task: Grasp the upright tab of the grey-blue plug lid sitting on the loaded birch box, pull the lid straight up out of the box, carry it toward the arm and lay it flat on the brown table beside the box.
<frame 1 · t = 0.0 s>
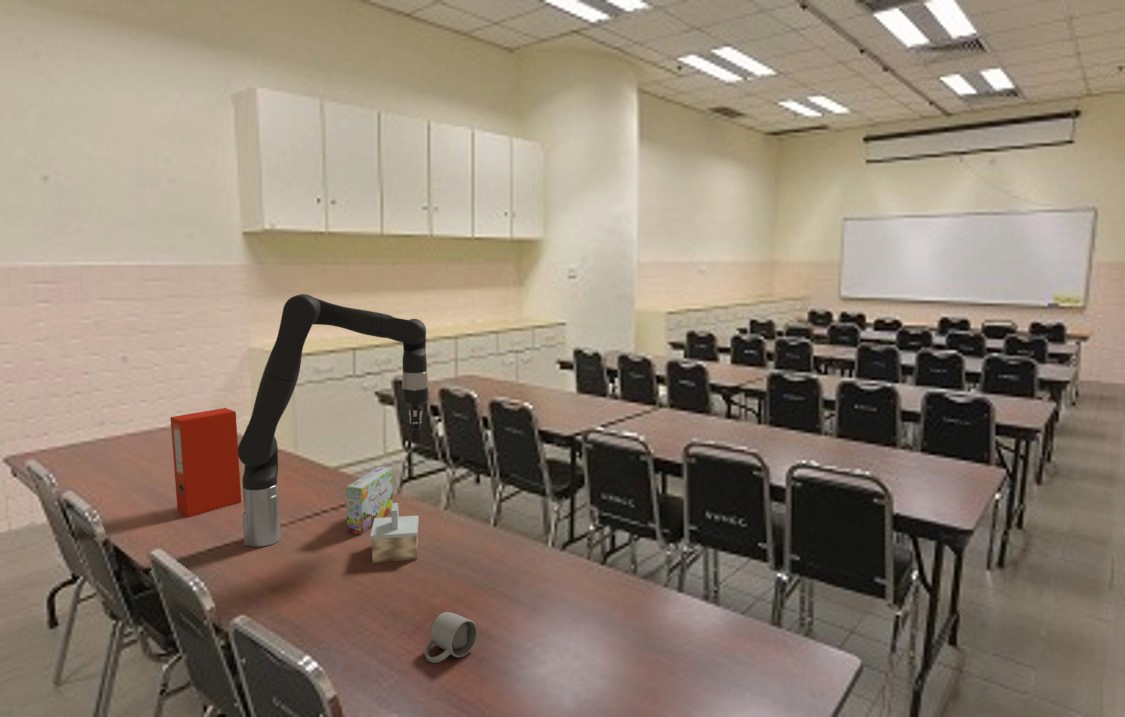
hand: (416, 438, 203), 29 cm above the table, fingers open, 8 cm apart
snack box: (371, 522, 214), on the table
lid: (395, 528, 191), point 7 cm above the table, touching box
terracotta ball: (405, 544, 195), point 1 cm above the table, touching box
ceramic mug: (449, 652, 144), on the table
file binder: (210, 507, 224), on the table
box: (396, 551, 192), on the table
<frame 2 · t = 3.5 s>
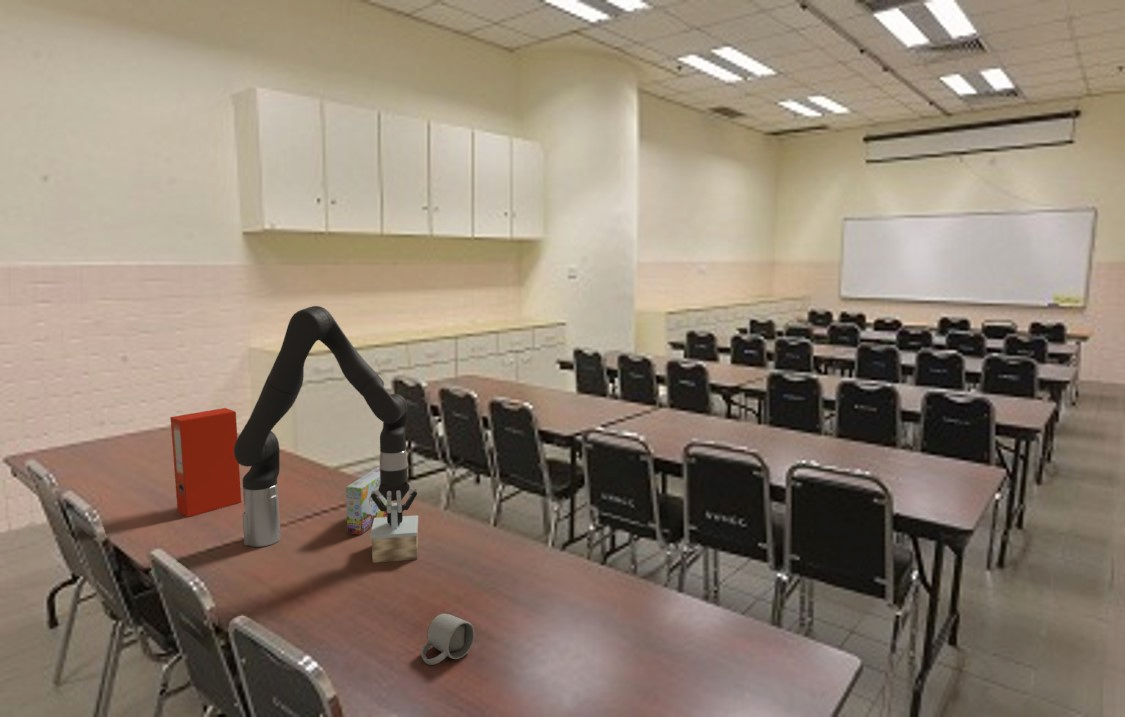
hand: (395, 523, 191), 8 cm above the table, fingers closed on lid
lid: (395, 528, 191), point 7 cm above the table, touching gripper
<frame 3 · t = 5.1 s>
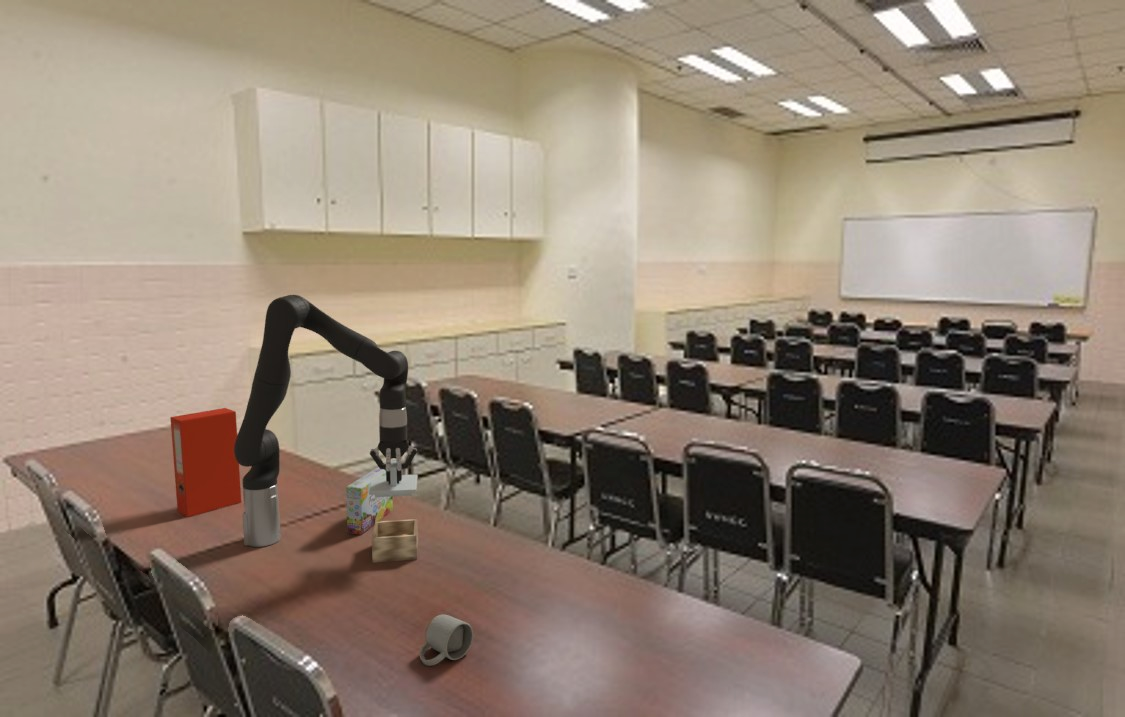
hand: (394, 482, 189), 21 cm above the table, fingers closed on lid
lid: (394, 486, 189), point 20 cm above the table, touching gripper
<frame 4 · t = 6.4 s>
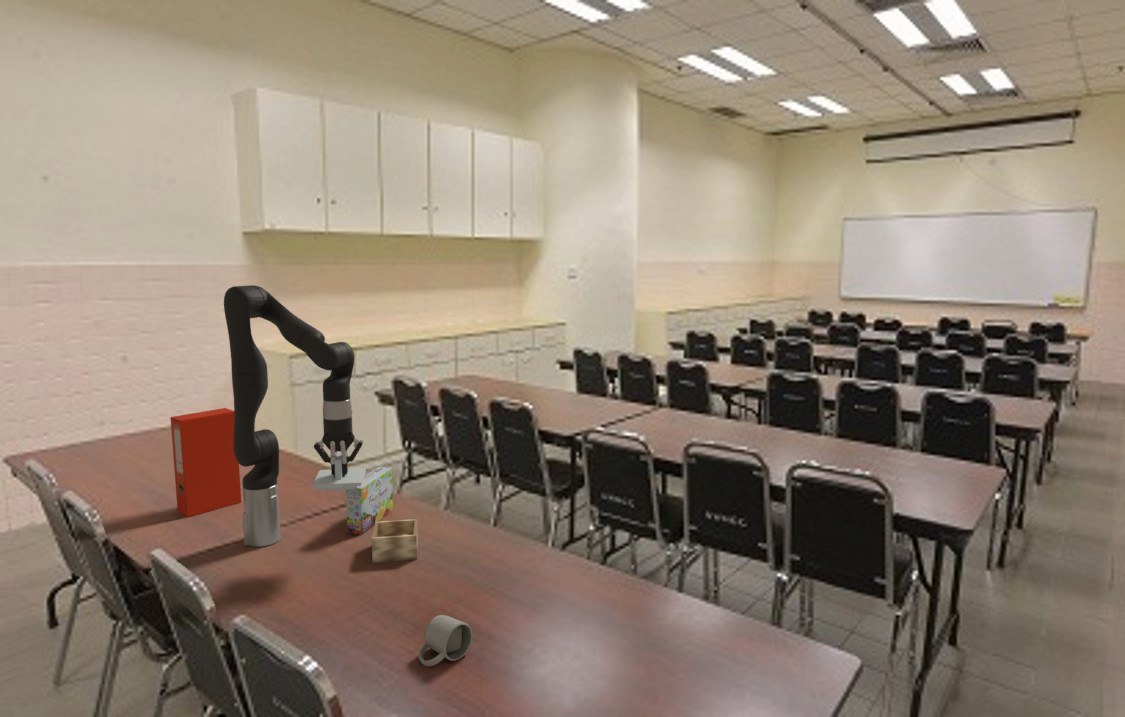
hand: (340, 475, 186), 23 cm above the table, fingers closed on lid
lid: (340, 479, 186), point 22 cm above the table, touching gripper
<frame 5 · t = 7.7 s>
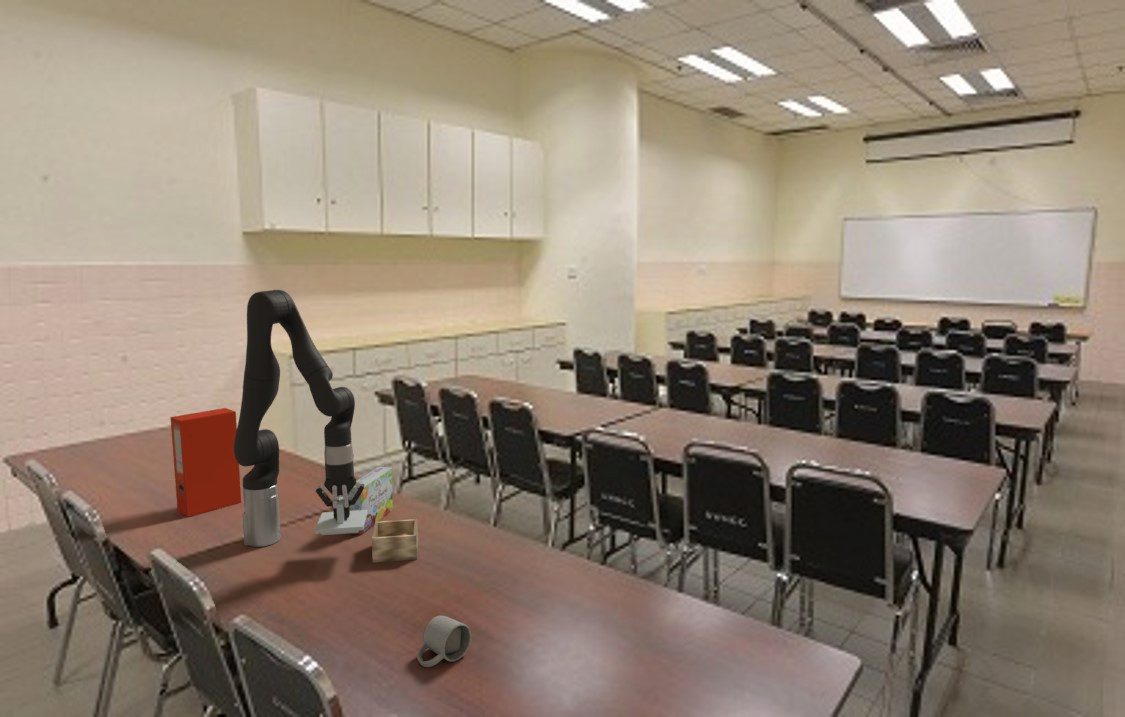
hand: (342, 519, 188), 11 cm above the table, fingers closed on lid
lid: (342, 522, 188), point 10 cm above the table, touching gripper
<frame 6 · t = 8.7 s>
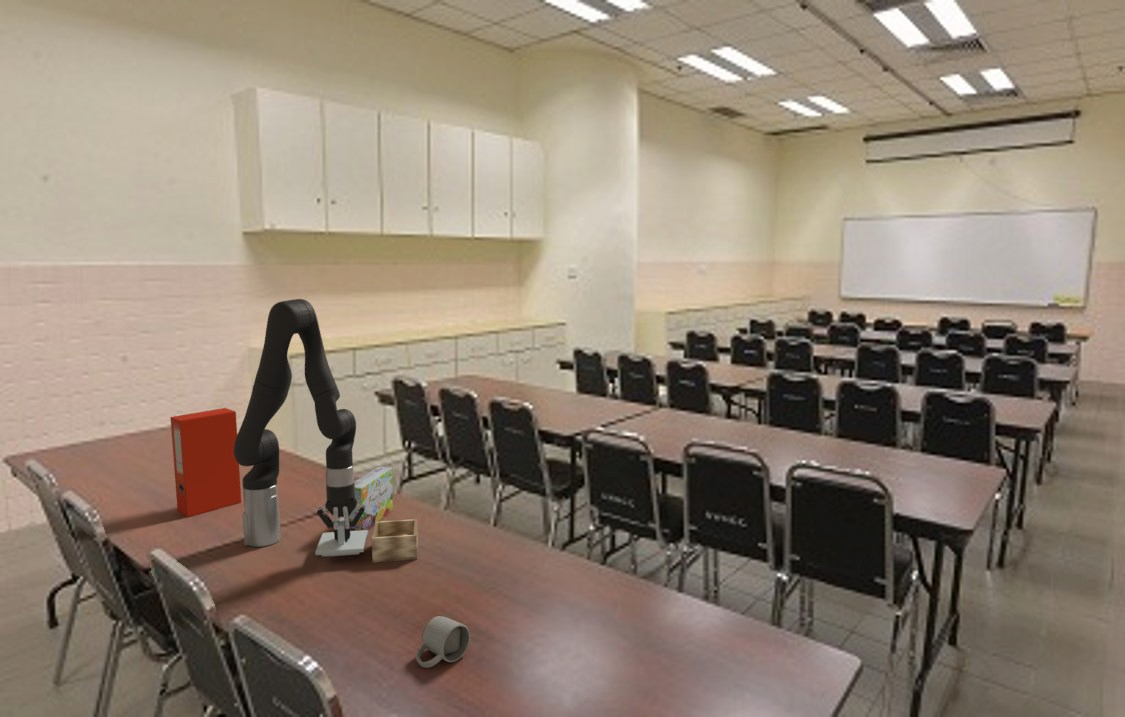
hand: (342, 540, 189), 5 cm above the table, fingers closed on lid
lid: (342, 543, 189), point 3 cm above the table, touching gripper
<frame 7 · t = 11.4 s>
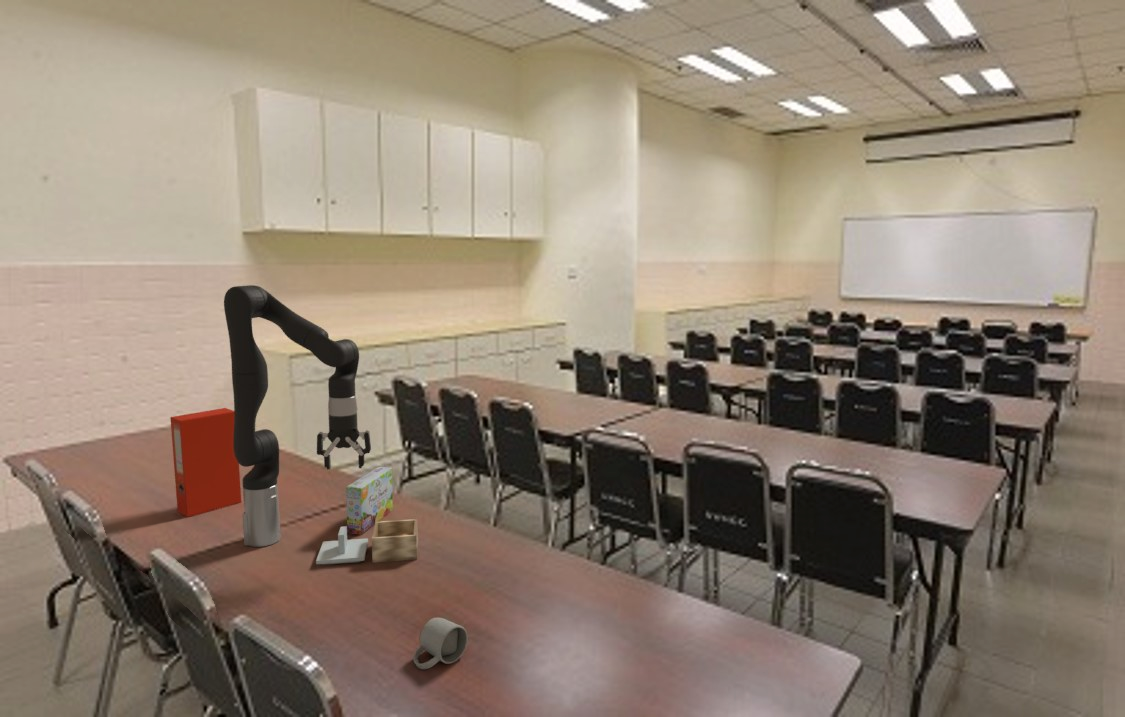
hand: (344, 468, 188), 25 cm above the table, fingers open, 8 cm apart
lid: (343, 552, 189), point 1 cm above the table
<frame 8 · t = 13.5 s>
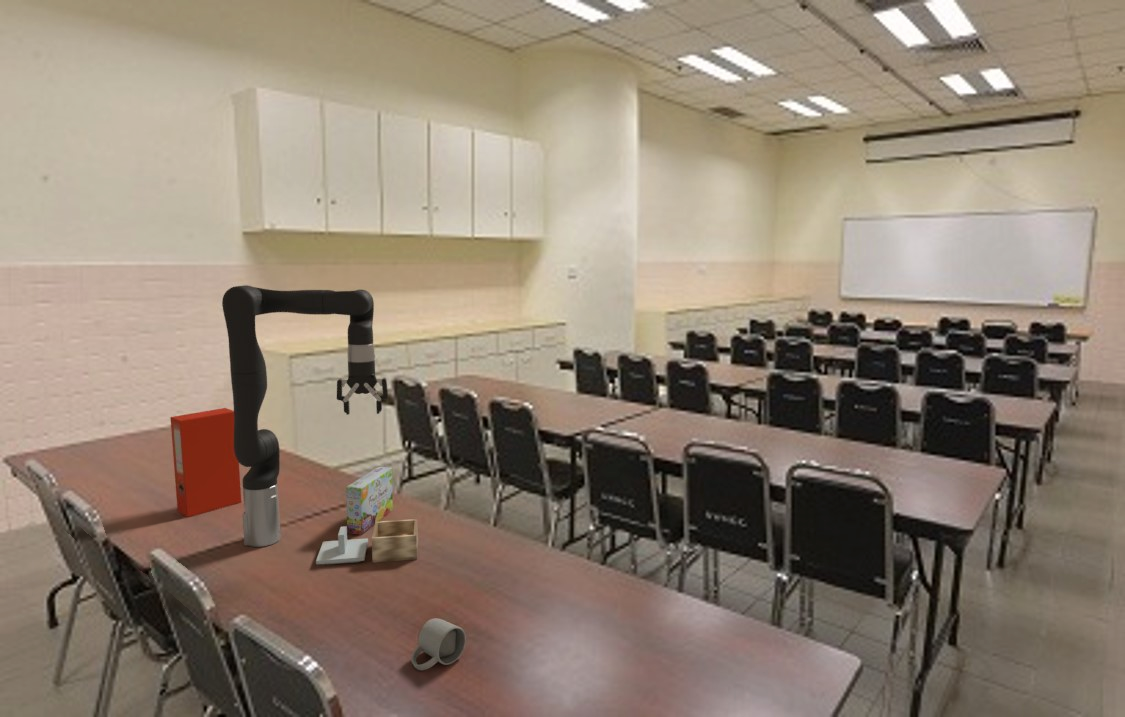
hand: (363, 413, 196), 38 cm above the table, fingers open, 8 cm apart
at the end: lid inside the target area (0.5 cm from its centre), point 0.9 cm above the table; lid tilted 0°; lid touching table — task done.
